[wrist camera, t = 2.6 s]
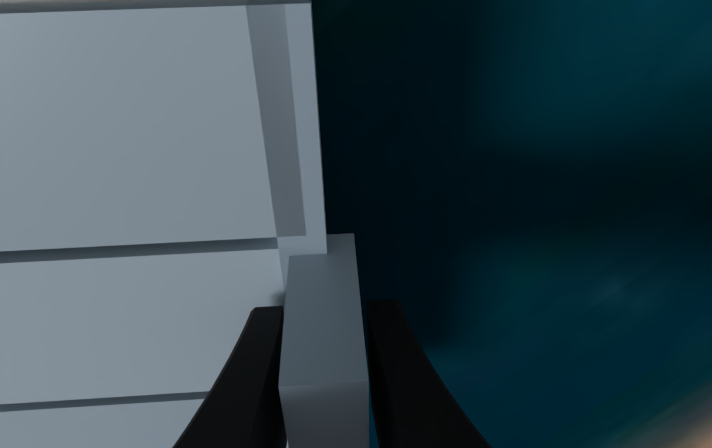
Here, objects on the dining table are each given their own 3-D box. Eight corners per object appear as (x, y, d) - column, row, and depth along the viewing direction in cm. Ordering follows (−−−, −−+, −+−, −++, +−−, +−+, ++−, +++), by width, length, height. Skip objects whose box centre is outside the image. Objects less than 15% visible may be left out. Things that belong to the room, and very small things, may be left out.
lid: (360, 458, 16) (370, 606, 13) (30, 480, 16) (-47, 639, 12) (347, -7, 8) (365, 64, 5) (-307, 15, 8) (-755, 108, 5)
